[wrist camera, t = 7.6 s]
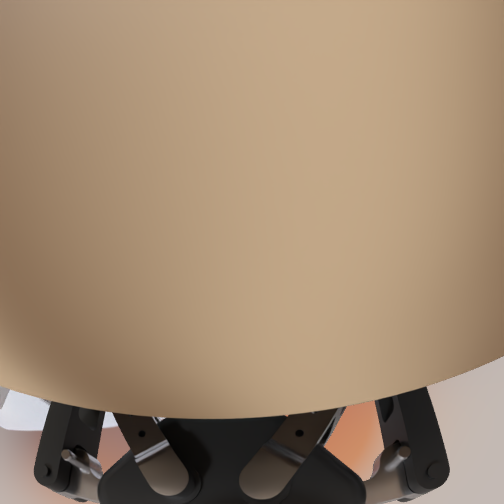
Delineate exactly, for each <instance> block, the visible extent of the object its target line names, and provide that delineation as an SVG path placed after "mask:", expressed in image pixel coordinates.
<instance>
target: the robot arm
mask: <svg viewBox="0 0 504 504" xmlns="http://www.w3.org/2000/svg"><path fill="white" fill-rule="evenodd" d="M375 405H376V409H377V413H378V418H379V423H380V428H381V433H382V438H383V443H384V450H383V452H382V453H381V454H380V455H379V456H378V457H377V458H376V459H375V461H374V464H373V473H372V476H371V477H370V479H369V480H366V481H362V479H361V478H360V477H359V476H358V475H357V474H356V473H355V472H353V471H352V470H351V469H350V468H349V467H347V466H346V465H345V464H344V463H342V462H341V461H340V460H339V459H338V458H336V457H335V456H334V455H333V454H332V453H330V452H329V451H328V450H326V448H324V446H325V444H326V442H327V441H328V439H329V437H330V436H331V434H332V433H333V431H334V429H335V427H336V425H337V423H338V421H339V419H340V417H341V416H342V414H343V412H344V410H345V409H346V407H347V406H344V407H339V408H333V409H327V410H320V411H314V412H306V413H298V414H290V415H288V417H287V416H285V415H280V416H268V417H254V418H232V419H187V418H165V419H163V420H161V419H160V418H159V417H151V416H140V415H130V414H122V413H114V412H112V413H113V415H114V417H115V420H116V422H117V424H118V426H119V428H120V429H121V432H122V433H123V436H124V438H125V440H126V441H127V443H128V445H129V447H130V450H129V451H128V452H127V453H126V454H125V455H124V456H123V457H122V458H121V459H120V460H118V461H117V462H116V463H115V464H114V465H113V466H112V467H111V468H110V469H108V470H107V471H106V472H105V473H104V474H103V472H102V468H101V464H100V463H99V461H98V460H97V454H98V448H99V442H100V437H101V431H102V426H103V421H104V416H105V411H100V410H94V409H88V408H83V407H78V406H72V405H68V404H63V403H59V402H54V401H51V404H50V408H49V411H48V414H47V418H46V421H45V425H44V428H43V432H42V436H41V440H40V444H39V448H38V452H37V457H36V462H35V466H34V476H35V478H36V480H37V481H38V482H39V483H40V484H41V485H43V486H46V487H47V488H49V489H51V490H52V491H54V492H56V493H58V494H60V495H63V496H65V497H67V498H71V499H74V500H76V501H79V502H86V501H92V502H96V503H100V504H383V503H387V502H391V501H395V500H398V501H400V502H407V501H410V500H413V499H415V498H417V497H419V496H421V495H424V494H426V493H428V492H430V491H432V490H434V489H436V488H438V487H440V486H441V485H443V484H444V482H445V481H446V480H447V478H448V476H449V472H450V467H449V463H448V459H447V454H446V450H445V447H444V443H443V439H442V436H441V432H440V428H439V425H438V421H437V418H436V415H435V412H434V408H433V405H432V402H431V399H430V396H429V393H428V391H427V387H426V386H425V387H422V388H419V389H415V390H412V391H408V392H405V393H401V394H398V395H394V396H390V397H386V398H382V399H378V400H375Z"/></svg>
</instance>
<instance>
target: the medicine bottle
mask: <svg viewBox="0 0 504 504" xmlns="http://www.w3.org/2000/svg"><path fill="white" fill-rule="evenodd" d="M9 390H10V389H8V388H5V387H2V386H0V409H1V408H2V407H3V404H4V402H5V399H6V397H7V395H8V392H9Z"/></svg>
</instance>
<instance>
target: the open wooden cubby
mask: <svg viewBox="0 0 504 504" xmlns="http://www.w3.org/2000/svg"><path fill="white" fill-rule="evenodd" d="M503 356H504V0H0V386H2V387H5V388H8V389H11V390H14V391H17V392H20V393H24V394H27V395H31V396H34V397H38V398H42V399H46V400H50V401H54V402H59V403H63V404H68V405H72V406H78V407H83V408H88V409H94V410H100V411H107V412H114V413H122V414H130V415H140V416H151V417H165V418H187V419H232V418H254V417H268V416H280V415H290V414H298V413H306V412H314V411H320V410H327V409H333V408H339V407H344V406H349V405H354V404H360V403H364V402H369V401H373V400H378V399H382V398H386V397H390V396H394V395H398V394H401V393H405V392H408V391H412V390H415V389H419V388H422V387H425V386H428V385H431V384H435V383H438V382H440V381H443V380H446V379H449V378H452V377H455V376H457V375H460V374H463V373H465V372H468V371H470V370H473V369H475V368H478V367H480V366H482V365H485V364H487V363H489V362H492V361H494V360H496V359H498V358H500V357H503Z"/></svg>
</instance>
